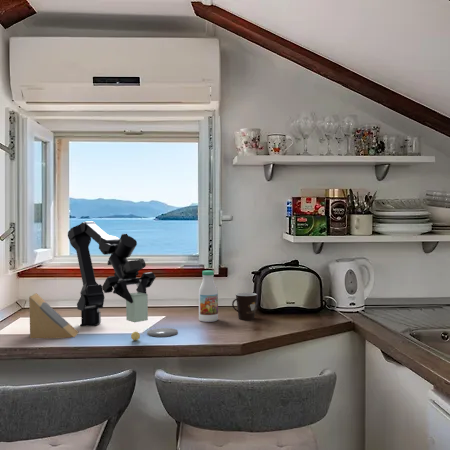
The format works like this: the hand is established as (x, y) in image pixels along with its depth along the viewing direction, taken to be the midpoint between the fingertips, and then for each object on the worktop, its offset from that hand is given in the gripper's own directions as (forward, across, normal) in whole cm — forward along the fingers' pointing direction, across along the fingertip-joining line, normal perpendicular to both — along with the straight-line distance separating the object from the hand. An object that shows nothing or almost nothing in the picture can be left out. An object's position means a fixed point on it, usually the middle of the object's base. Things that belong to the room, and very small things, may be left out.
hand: (139, 301), depth 172 cm
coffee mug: (+10, +50, +10) cm, 51 cm away
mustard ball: (+9, -1, +10) cm, 14 cm away
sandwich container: (-10, -17, +30) cm, 36 cm away
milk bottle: (+4, +38, +15) cm, 41 cm away
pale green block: (+4, 0, +6) cm, 7 cm away
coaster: (+7, +12, +12) cm, 18 cm away
